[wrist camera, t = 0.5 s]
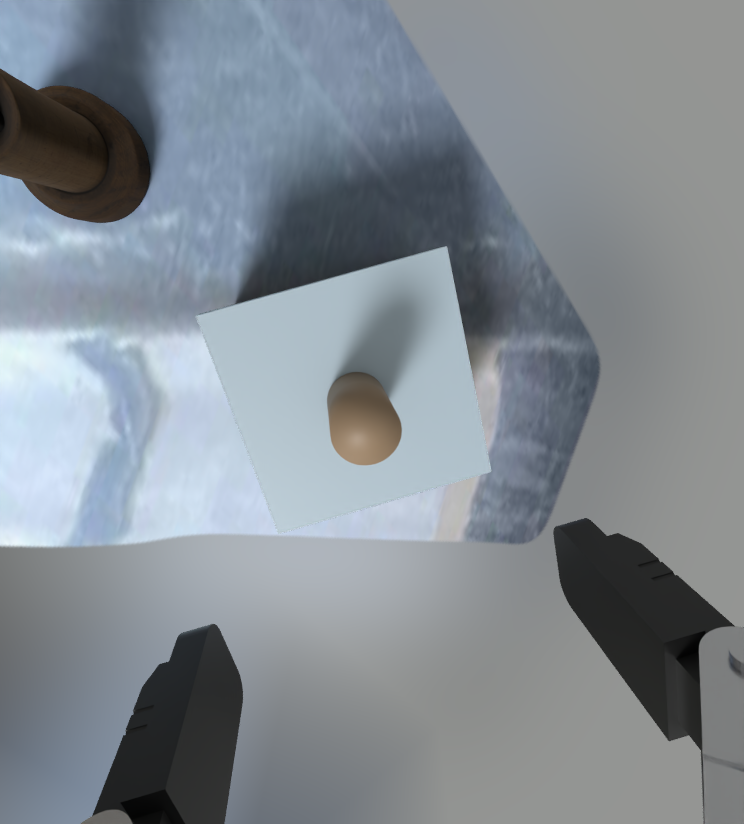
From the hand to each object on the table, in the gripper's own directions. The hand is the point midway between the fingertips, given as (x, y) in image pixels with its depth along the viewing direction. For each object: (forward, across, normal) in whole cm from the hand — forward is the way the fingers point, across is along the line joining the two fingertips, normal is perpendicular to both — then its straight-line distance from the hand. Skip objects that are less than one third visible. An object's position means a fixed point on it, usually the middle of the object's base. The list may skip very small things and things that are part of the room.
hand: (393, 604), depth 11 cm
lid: (+17, -1, 0) cm, 17 cm away
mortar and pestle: (+24, +11, -16) cm, 31 cm away
